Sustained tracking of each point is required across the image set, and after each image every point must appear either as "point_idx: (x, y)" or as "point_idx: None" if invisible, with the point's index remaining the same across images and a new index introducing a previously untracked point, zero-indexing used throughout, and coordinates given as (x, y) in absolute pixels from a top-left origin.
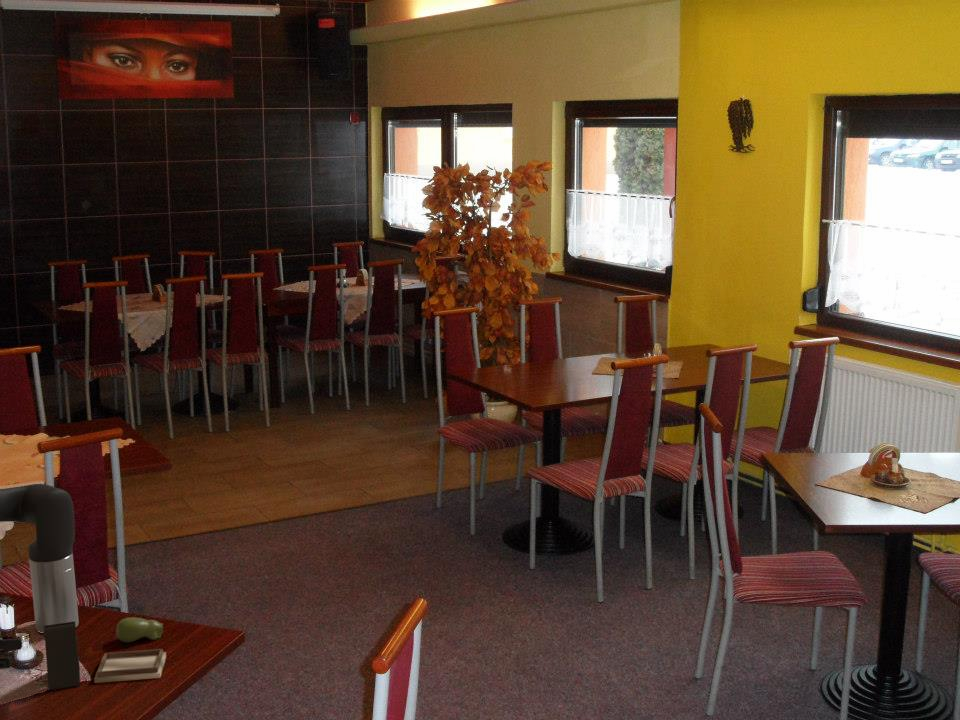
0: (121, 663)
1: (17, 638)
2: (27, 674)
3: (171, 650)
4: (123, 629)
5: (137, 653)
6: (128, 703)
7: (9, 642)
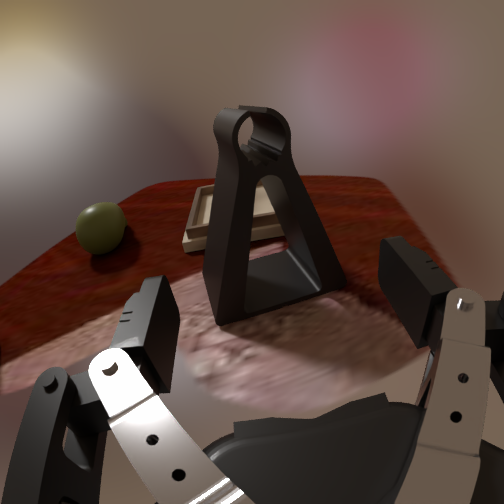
0: None
1: (142, 285)
2: (221, 381)
3: (177, 204)
4: (112, 217)
5: (198, 204)
6: (363, 189)
7: (158, 321)
